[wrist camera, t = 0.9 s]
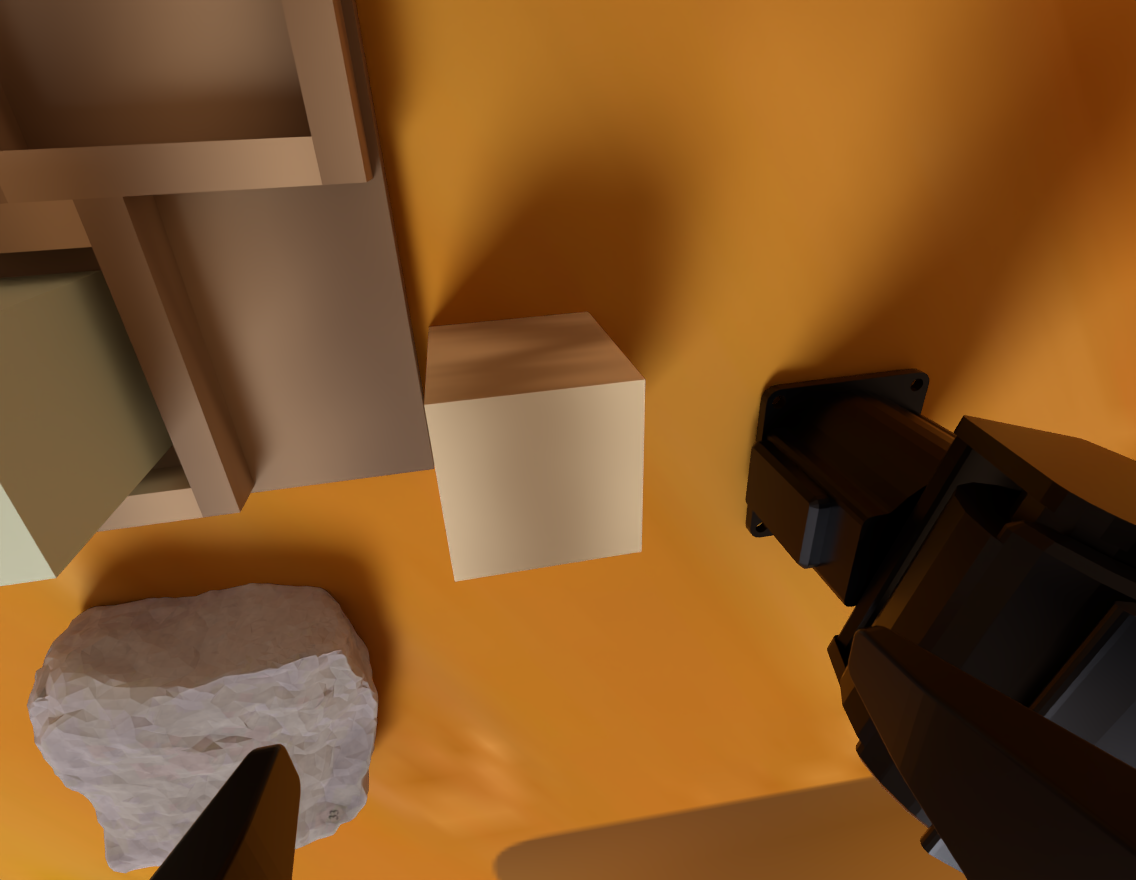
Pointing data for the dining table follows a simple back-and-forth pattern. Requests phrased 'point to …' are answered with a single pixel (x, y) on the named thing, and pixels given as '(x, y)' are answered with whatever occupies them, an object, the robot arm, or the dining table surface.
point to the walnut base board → (220, 232)
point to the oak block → (534, 442)
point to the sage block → (67, 419)
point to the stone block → (205, 709)
